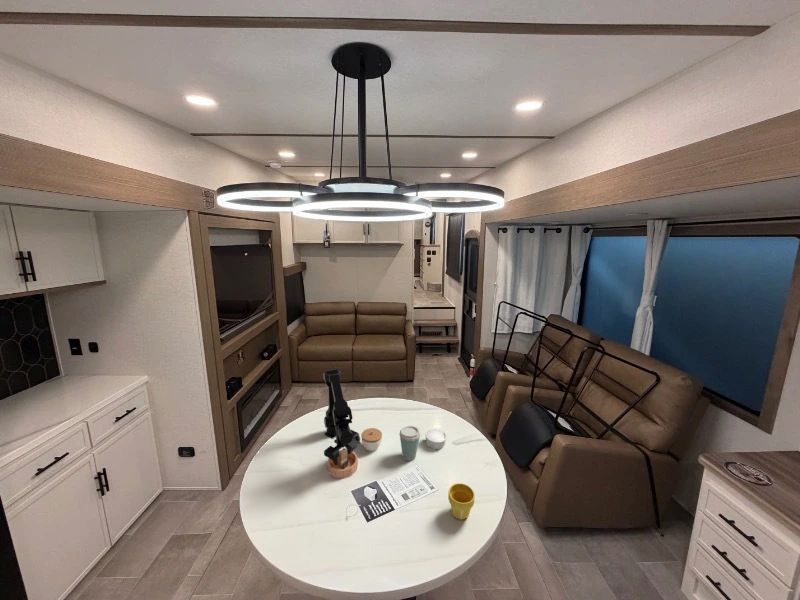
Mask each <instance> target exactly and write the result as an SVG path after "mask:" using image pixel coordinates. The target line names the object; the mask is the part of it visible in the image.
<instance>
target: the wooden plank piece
mask: <svg viewBox="0 0 800 600" xmlns="http://www.w3.org/2000/svg"><path fill="white" fill-rule="evenodd" d="M340 450H341V451H340V452H339V455H340V456H339V457H338V467H339V468H341V469H342V468H343V463H344V462H345V461H346V460H347V449H346V448H345V447H344V448H341V449H340Z"/></svg>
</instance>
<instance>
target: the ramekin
mask: <svg viewBox="0 0 800 600" xmlns="http://www.w3.org/2000/svg"><path fill="white" fill-rule="evenodd" d="M424 435H425V440H426V444H427V446H428V447H429V448H430V449H433V450H441V449H442V448H444V446H445V445H446V441H447V439H448V438H447V434H446V432H444V431H443V430H441V429H438V428H431V429H428V430H427V431H426V432H425V434H424Z"/></svg>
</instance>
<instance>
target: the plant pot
mask: <svg viewBox="0 0 800 600" xmlns="http://www.w3.org/2000/svg"><path fill="white" fill-rule="evenodd" d="M475 494H476V493H475V491H474V490H473V488H472V487H470V486H469V485H467V484H465V483H460V482H459V483H457V482H456V483H453V484H452V485H451V486H450V487H449V489H448V493H447V495H448V502H449V504H450V506H451V508H450V509H451V512H452V515H453V517H454V516H455V517H456V518H455V517H454V518H455V519H457V518H458V519H457V520H459V519H465V518H467V517H468V518H469V516H470V513H471V509H472V508H473V507H474V504H475V501H476V500H475V499H476V497H475ZM468 518H467V519H468ZM465 520H466V519H465Z"/></svg>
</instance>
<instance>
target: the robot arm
mask: <svg viewBox="0 0 800 600" xmlns="http://www.w3.org/2000/svg"><path fill="white" fill-rule="evenodd" d="M341 373H342V372H341V371H340V370H338V369H337V368H334V369H327V370H326V369H325V371H324V372H323V373H322V377H323V381H324V382H325V385H326V387H327V403H328V408H327V410H326V411H325V416H324V418H323V423H324V427H325V428H326V432H324V435H325V436H327V437H329V438H331V439H334V438H335V439H334V440H333V442H334V444H336V445H335V446H332V445H329V446H328V447H327V448H326V449H324V450H323V456H325V458H326V457H327V458H330V459H332V461H333V463H334V464H335V465H336V466H337V461H338V457H339V456H340V455H339V450H342V449H343V448H345V449H347V452H348V454H350V453H351V452H355V450H356V449H358V446H359V445H360V444H361V437H360V433H359V432H357V431H355V430H353V429H351V428H350V424H352V423H353V412H352V408H351V407H350V406H349V405H348V401H347V400H345V399H344V395H343V391H342V385H341V379H342V374H341Z"/></svg>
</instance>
